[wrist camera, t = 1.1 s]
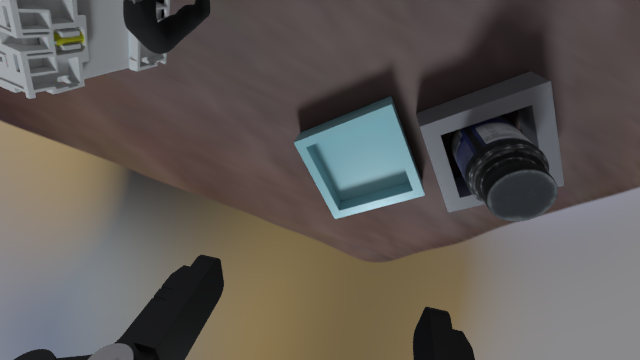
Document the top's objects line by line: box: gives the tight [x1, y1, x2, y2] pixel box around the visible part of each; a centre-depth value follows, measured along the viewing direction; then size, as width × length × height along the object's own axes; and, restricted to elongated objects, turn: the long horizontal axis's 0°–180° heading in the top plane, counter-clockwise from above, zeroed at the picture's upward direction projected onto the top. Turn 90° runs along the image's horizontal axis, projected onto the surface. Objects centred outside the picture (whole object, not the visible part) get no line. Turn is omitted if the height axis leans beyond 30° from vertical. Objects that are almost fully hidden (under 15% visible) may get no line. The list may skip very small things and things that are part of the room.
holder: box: [416, 71, 564, 213], centre depth 29 cm, size 10×10×4 cm
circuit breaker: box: [0, 0, 170, 99], centre depth 25 cm, size 8×14×15 cm, turn 69°
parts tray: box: [294, 96, 425, 219], centre depth 34 cm, size 11×11×3 cm
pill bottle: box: [451, 116, 558, 221], centre depth 27 cm, size 6×6×11 cm
